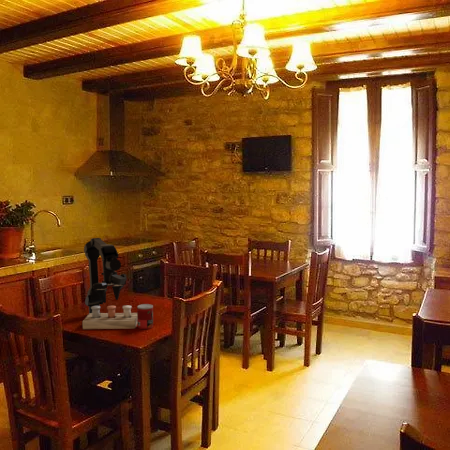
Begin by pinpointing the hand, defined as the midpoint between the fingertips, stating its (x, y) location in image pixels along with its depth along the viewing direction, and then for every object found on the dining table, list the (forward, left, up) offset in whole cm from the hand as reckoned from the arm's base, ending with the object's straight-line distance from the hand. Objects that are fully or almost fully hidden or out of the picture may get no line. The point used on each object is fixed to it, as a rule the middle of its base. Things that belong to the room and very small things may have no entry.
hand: (110, 301), depth 227 cm
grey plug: (-7, -9, -11) cm, 15 cm away
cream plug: (-7, +7, -10) cm, 14 cm away
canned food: (-2, +17, -14) cm, 22 cm away
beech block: (-7, -1, -14) cm, 16 cm away
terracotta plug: (-7, -1, -10) cm, 12 cm away
